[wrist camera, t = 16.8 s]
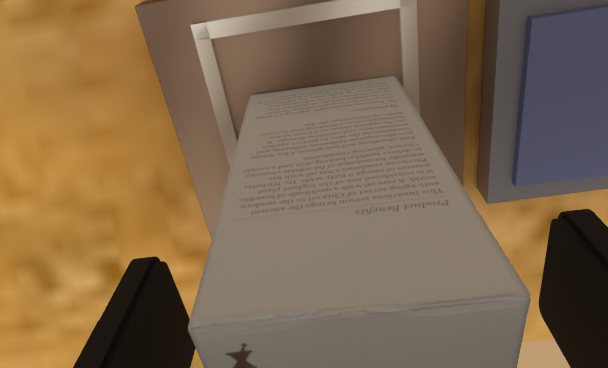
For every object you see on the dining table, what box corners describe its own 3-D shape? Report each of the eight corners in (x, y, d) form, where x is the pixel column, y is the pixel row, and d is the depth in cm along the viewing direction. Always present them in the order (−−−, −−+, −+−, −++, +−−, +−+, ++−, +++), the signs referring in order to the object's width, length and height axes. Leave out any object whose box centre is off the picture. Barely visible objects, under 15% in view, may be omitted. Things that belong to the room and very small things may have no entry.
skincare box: (267, 182, 20) (229, 460, 10) (248, 92, 18) (175, 326, 8) (403, 166, 20) (512, 439, 9) (400, 71, 18) (539, 291, 7)
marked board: (460, -54, 16) (472, -51, 15) (455, 215, 22) (463, 231, 21) (143, 2, 17) (131, 7, 16) (221, 245, 23) (216, 262, 22)
